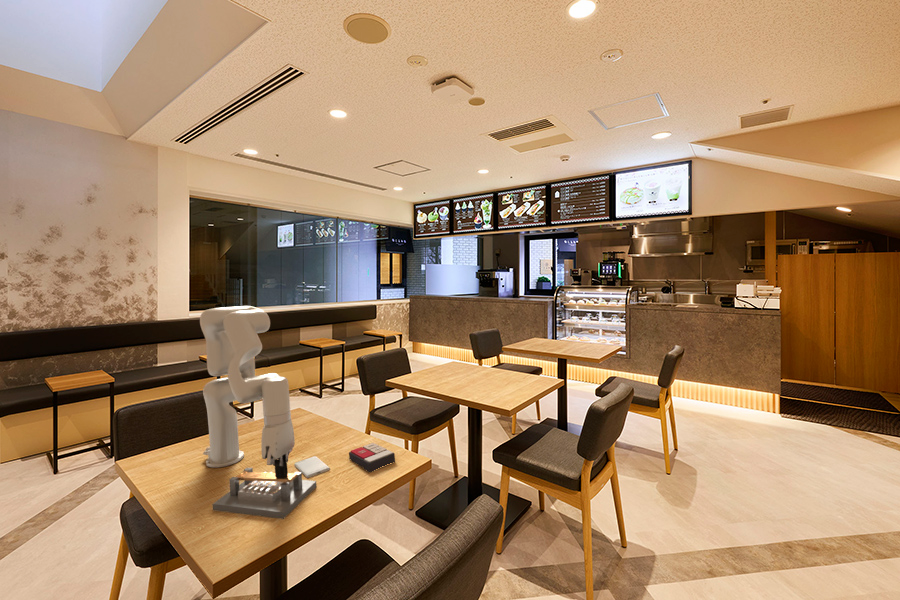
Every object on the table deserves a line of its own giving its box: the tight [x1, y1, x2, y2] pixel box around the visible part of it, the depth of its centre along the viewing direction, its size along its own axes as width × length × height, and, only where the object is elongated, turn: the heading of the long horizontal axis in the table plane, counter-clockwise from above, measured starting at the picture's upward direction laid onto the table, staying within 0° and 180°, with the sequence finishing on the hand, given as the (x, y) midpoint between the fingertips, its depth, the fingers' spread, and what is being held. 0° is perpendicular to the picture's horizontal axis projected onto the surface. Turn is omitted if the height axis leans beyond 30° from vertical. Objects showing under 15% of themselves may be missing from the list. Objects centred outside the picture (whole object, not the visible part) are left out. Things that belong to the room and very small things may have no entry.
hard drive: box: [293, 455, 331, 479], centre depth 139 cm, size 2×8×12 cm
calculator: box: [348, 442, 396, 473], centre depth 143 cm, size 11×4×15 cm
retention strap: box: [235, 470, 298, 482], centre depth 120 cm, size 20×4×2 cm, turn 77°
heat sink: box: [228, 466, 303, 503], centre depth 120 cm, size 20×10×5 cm, turn 77°
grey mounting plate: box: [212, 479, 318, 520], centre depth 120 cm, size 24×17×2 cm
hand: (281, 476), depth 118 cm, fingers closed
